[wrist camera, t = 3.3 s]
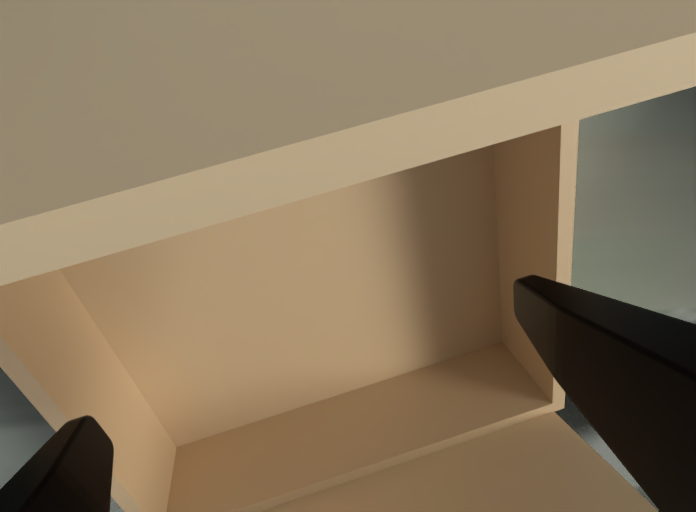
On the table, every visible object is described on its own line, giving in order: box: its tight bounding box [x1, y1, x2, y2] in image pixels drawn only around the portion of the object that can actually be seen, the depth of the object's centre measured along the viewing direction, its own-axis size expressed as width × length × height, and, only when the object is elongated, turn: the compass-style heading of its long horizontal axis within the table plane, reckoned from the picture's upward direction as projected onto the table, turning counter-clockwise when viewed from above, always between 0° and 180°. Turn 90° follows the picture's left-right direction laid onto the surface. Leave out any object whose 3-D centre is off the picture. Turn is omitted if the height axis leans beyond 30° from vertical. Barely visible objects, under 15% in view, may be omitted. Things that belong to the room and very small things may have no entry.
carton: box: [0, 120, 579, 512], centre depth 17 cm, size 19×19×5 cm
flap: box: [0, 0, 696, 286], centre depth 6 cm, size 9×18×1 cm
